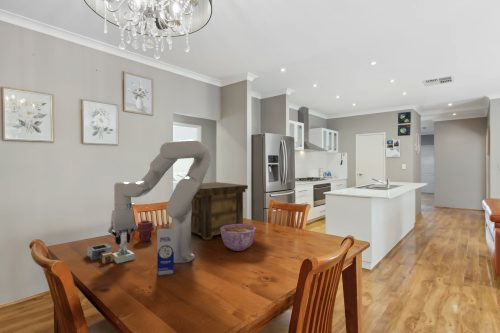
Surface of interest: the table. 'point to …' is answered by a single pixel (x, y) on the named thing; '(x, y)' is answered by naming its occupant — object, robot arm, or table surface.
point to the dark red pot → (145, 230)
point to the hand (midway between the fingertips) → (123, 242)
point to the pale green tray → (123, 257)
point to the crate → (216, 208)
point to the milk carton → (165, 251)
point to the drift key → (105, 257)
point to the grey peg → (123, 242)
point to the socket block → (98, 250)
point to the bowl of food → (237, 236)
